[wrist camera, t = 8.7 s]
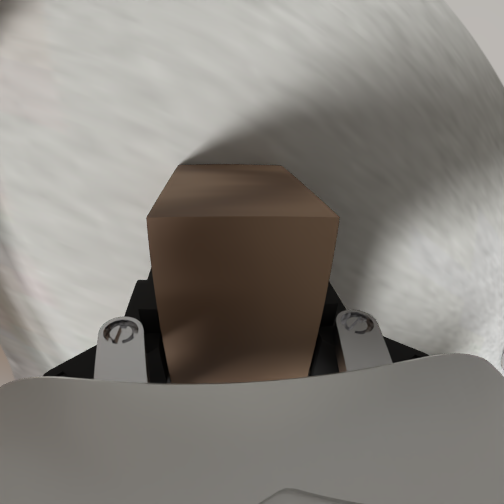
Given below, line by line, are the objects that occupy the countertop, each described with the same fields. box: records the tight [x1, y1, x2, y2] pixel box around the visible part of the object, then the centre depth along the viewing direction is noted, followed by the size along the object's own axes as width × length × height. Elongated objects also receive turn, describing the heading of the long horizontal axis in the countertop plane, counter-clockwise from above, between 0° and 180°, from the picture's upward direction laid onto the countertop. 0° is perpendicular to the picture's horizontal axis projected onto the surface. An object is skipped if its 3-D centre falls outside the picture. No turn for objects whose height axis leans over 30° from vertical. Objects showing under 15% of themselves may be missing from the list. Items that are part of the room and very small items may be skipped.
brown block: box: [146, 164, 340, 384], centre depth 13 cm, size 4×18×6 cm, turn 177°
